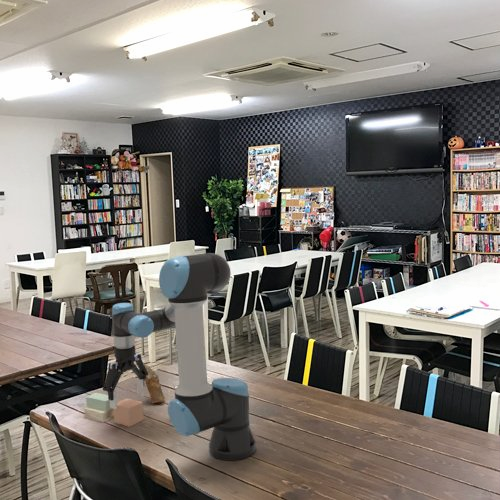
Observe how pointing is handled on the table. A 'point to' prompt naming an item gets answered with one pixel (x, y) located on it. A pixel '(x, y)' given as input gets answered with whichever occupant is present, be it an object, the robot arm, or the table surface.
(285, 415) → the table surface
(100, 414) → the block base
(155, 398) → the figurine
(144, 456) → the table surface
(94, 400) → the block top
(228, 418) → the robot arm
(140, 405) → the terracotta block
